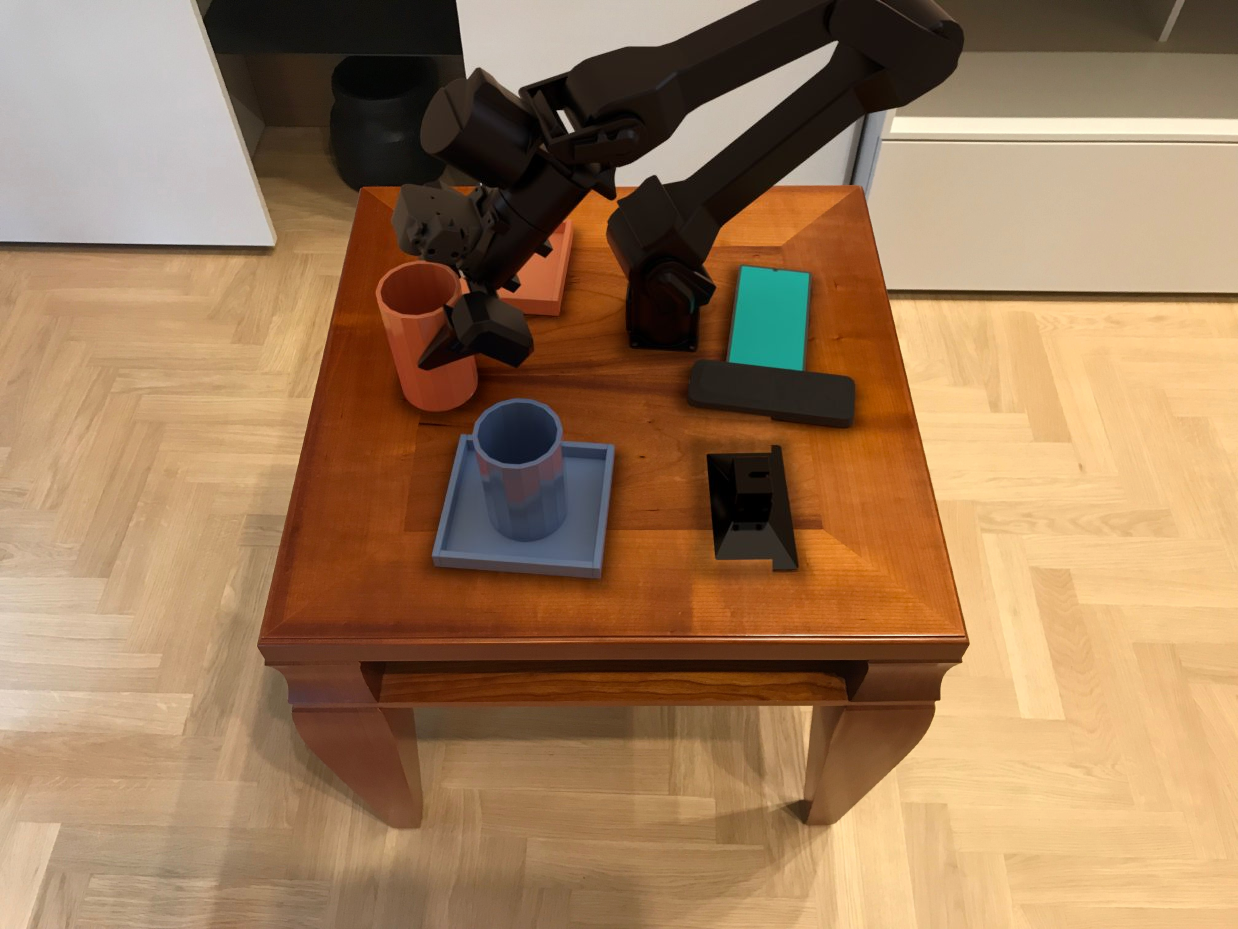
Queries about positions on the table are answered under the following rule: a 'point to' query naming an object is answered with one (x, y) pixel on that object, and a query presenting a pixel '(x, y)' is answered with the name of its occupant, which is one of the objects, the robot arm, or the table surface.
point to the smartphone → (770, 317)
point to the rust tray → (541, 277)
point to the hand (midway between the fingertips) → (413, 338)
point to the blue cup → (522, 468)
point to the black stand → (751, 508)
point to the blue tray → (562, 553)
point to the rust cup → (423, 333)
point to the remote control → (773, 392)
